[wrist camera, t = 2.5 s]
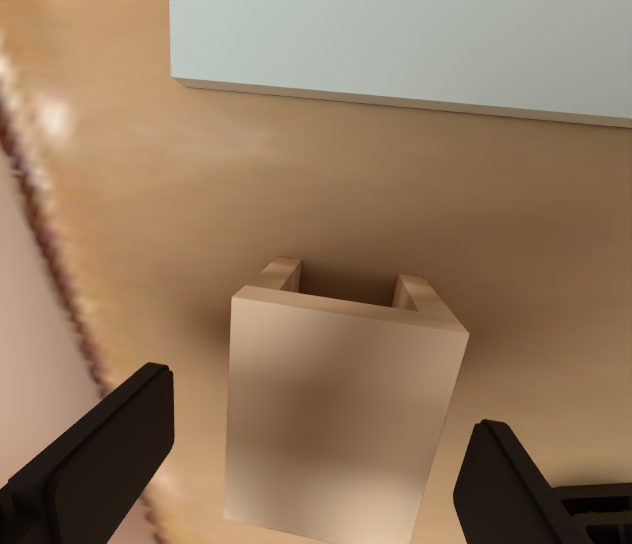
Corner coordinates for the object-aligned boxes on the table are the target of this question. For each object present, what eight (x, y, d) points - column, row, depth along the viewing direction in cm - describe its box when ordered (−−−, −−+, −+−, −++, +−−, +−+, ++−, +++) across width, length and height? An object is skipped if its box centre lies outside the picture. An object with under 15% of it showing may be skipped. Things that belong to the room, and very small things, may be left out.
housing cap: (422, 276, 12) (469, 334, 7) (387, 434, 14) (404, 559, 9) (278, 256, 12) (231, 296, 8) (266, 411, 15) (223, 518, 10)
